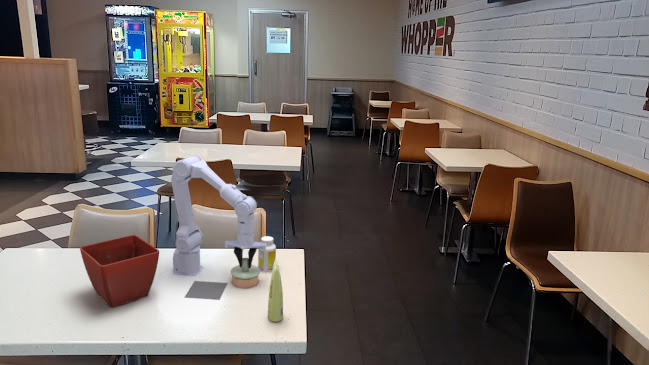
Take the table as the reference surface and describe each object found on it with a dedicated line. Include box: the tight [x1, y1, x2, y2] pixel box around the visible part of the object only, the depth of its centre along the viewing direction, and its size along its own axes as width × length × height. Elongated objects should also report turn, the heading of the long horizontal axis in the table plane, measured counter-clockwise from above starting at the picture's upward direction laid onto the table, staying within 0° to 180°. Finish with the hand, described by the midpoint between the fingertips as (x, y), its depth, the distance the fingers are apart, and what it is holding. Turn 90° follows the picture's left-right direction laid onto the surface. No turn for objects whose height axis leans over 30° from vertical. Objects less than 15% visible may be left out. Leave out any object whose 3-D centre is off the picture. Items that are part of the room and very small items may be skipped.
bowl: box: [231, 274, 260, 289], centre depth 178 cm, size 9×9×4 cm
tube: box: [267, 256, 284, 323], centre depth 154 cm, size 6×5×20 cm
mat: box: [184, 280, 228, 301], centre depth 171 cm, size 12×12×1 cm
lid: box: [230, 257, 261, 279], centre depth 176 cm, size 10×10×5 cm
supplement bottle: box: [257, 235, 277, 273], centre depth 188 cm, size 7×7×13 cm
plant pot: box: [79, 234, 160, 308], centre depth 164 cm, size 19×19×17 cm
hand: (245, 266), depth 177 cm, fingers closed on lid, 2 cm apart
